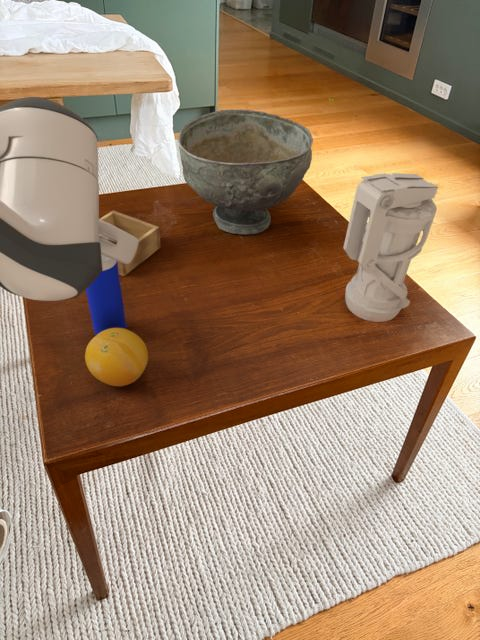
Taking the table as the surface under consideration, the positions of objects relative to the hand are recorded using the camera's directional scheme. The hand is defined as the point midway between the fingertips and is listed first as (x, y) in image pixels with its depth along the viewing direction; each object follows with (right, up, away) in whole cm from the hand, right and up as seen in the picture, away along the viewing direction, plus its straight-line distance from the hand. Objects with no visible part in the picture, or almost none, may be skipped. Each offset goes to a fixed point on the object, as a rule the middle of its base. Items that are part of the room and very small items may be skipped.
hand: (97, 240), depth 71 cm
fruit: (+2, -20, +4) cm, 20 cm away
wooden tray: (-4, +2, +28) cm, 28 cm away
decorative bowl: (+21, +11, +39) cm, 46 cm away
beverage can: (-1, -13, +11) cm, 17 cm away
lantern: (+43, -9, +19) cm, 48 cm away
